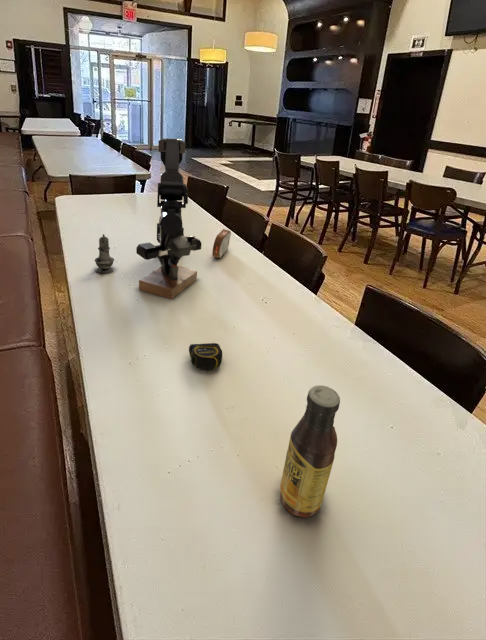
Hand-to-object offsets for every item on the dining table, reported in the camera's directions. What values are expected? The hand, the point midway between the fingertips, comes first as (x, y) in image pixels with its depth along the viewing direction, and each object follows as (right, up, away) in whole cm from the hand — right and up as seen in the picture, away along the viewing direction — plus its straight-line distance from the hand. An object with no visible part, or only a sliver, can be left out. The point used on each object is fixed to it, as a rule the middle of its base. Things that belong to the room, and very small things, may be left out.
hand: (169, 273), depth 122 cm
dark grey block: (0, 0, 0) cm, 0 cm away
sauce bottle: (+27, -31, -62) cm, 74 cm away
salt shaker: (-21, +1, +7) cm, 22 cm away
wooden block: (0, -3, +1) cm, 4 cm away
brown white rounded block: (+15, +6, +28) cm, 32 cm away
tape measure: (+12, -18, -33) cm, 39 cm away
